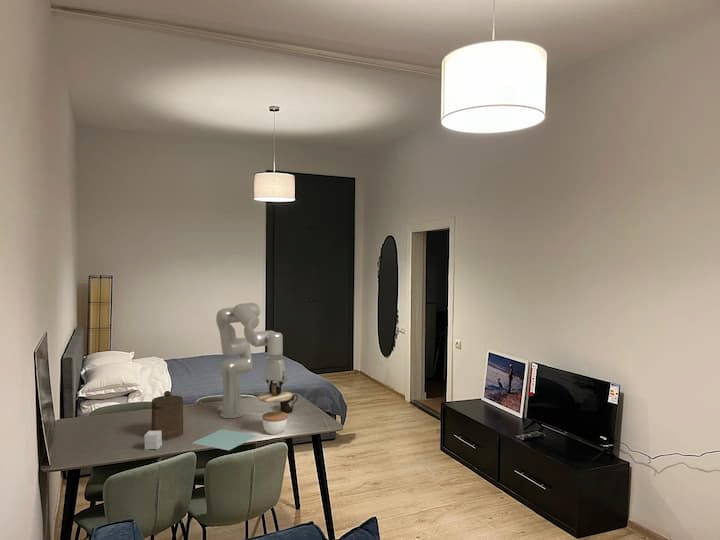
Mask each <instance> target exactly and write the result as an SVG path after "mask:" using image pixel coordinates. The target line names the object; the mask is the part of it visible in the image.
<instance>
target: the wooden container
mask: <svg viewBox="0 0 720 540" xmlns="http://www.w3.org/2000/svg"><path fill="white" fill-rule="evenodd" d="M183 404H184V397H183V396H181V395H177V394H176V395H175V394H174V395H172V391H170V390H166V391H164V393H163V395H161V396H160V395H159V396H157V397H154V398H153V399H152V400H151V431H162V441H167V440H166V439H170V440H172V439H177V438H179V437H181V436H183V435H184V405H183Z"/></svg>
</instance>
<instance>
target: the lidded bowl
mask: <svg viewBox="0 0 720 540" xmlns="http://www.w3.org/2000/svg"><path fill="white" fill-rule="evenodd" d="M261 418H262V425H263V429H264V431H265V432H266V433H267V434H268V435H272V436H275V435H276V436H277V435H281V434H282V433H283V432H285V430H286V428H287V425H288V413H284V412H281V411H277V410H274V411H269V412H265V413H263V414H262V417H261Z"/></svg>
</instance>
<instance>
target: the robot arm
mask: <svg viewBox="0 0 720 540" xmlns="http://www.w3.org/2000/svg"><path fill="white" fill-rule="evenodd" d="M260 313H261V308H260V306H259V305H258V304H257V303H255V302H246V303H245V302H244V303H239V304H236V305H235V306H234V307H225V308H222V309H220V310H218V311H217V313H216V316H215V321H216V325H217V328H218V330H219V337H220V345H221V352H222V354H223V356H224V357H233V358H228V359H226V360H224V361H223V362H222V363H221V365H220V366H221V369H220V371H221V375H222V405H219V406H218V408H217V409H218V411H221V412H220V414H219V416H220V417H221V418H224V419H237V418H239V417H240V418H241V417H242V416H244V411H243V410H241V409H242V408H241V407H242V406H241V404H242V401H241V397H242V396H241V395H242V394H241V393H242V392H241V390H242V389H241V387H242V386H241V381H240V380H239V378H238V377H237V376H240V375H245V374H246V375H247V374H249V373H251V372H252V369H253V357H252V351H251V346H252V347H255V348H258V347H265V346H267V354H265V357H266V358H267V359H266V360H265V362H264V371H263V373H264V374H263V375H264V376H263V380H264V381H265V382H266V383H267V385H268V392H269V393H270V394H271V393H272V383H274V382H276V383H277V387H276V394H277V395H278V394H281V391H282V386H283V385H284V384H285V383H287V382H288V380H287V377H286V366H285V360H284V359H283V357H284V354H283V350H284V348H283V347H284V345H283V342H284V341H283V340H284V339H283V337H284V336H283V334H282V333H281V332H276V331H274V330H270V329H269V330H263V331H255V329H256V328H257V327H258V326H259V324H260V318H259V316H260ZM233 323H241V325H242V326H243V327H244V329H243V334H244V337H237V334H236V329H235V327H234V326H233V325H232V324H233ZM236 356H239V357H236ZM234 357H235V358H234Z"/></svg>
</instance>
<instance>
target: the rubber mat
mask: <svg viewBox="0 0 720 540" xmlns="http://www.w3.org/2000/svg"><path fill="white" fill-rule="evenodd" d="M257 436H258V435H257V434H251V433H244V432H240V431H235V430H228V429H223V428H221V429H220V430H216V431H215V432H213V433H210V434H209V435H206V436H203V437H202V438H201V437H200V438H199V439H197V440H195V441H192V442H191V444H195V445H199V446H205V447H210V448H215V449H220V450H225V451H231V450H233V449H235V448H236V447H238V446H241V445H243V444H244V443H247V442H248V441H250V440H252V439H254V438H256V437H257Z"/></svg>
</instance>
